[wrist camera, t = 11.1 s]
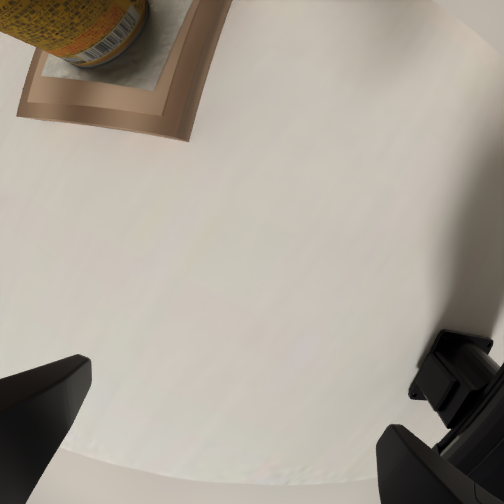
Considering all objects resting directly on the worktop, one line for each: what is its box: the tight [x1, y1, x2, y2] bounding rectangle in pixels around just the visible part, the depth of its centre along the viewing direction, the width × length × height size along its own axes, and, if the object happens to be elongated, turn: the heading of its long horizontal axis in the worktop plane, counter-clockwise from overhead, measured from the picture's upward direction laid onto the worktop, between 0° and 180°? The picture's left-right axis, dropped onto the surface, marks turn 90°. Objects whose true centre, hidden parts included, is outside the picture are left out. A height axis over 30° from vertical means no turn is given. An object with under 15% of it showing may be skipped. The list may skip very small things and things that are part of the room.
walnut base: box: [16, 0, 232, 142], centre depth 16 cm, size 12×12×3 cm
